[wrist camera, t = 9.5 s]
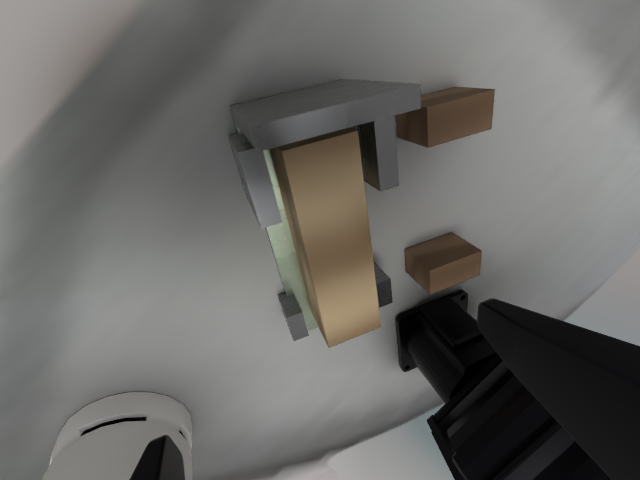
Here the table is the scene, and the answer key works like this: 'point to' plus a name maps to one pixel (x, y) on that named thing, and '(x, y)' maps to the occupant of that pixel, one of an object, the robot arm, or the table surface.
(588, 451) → the robot arm
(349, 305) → the rail
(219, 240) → the table surface
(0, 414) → the table surface
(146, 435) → the bottle
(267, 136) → the bracket
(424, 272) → the pair of brown blocks
